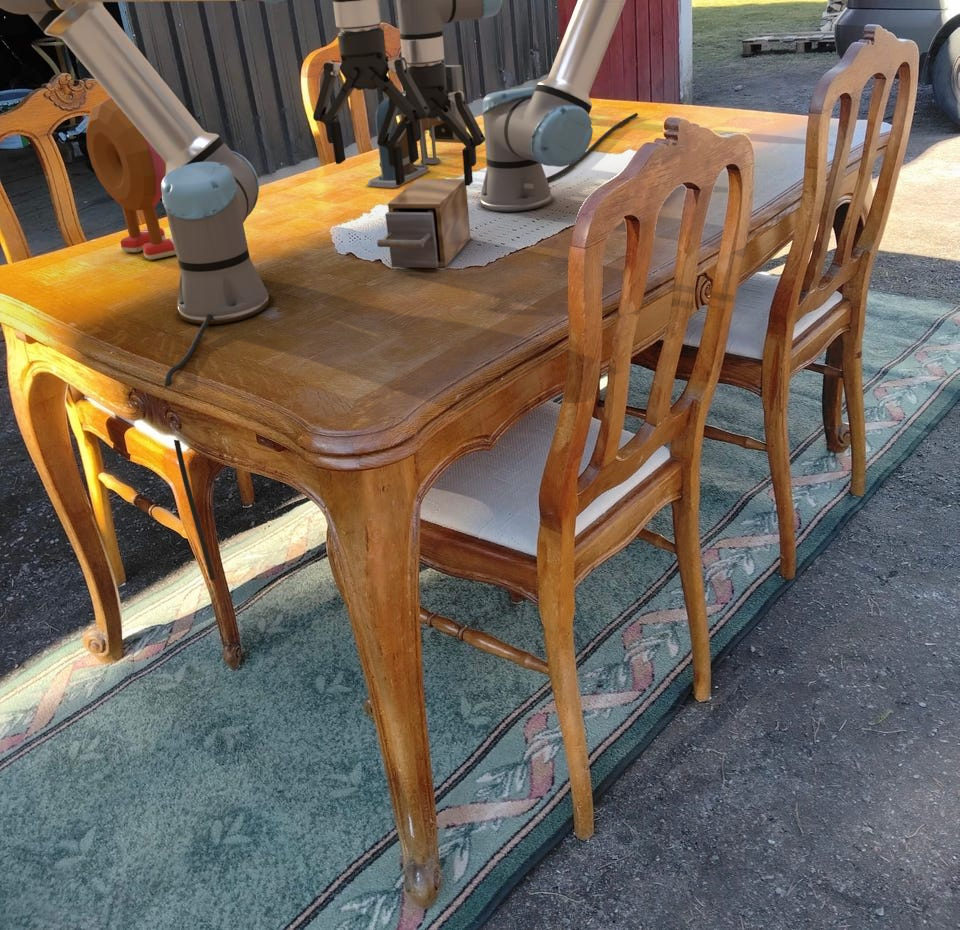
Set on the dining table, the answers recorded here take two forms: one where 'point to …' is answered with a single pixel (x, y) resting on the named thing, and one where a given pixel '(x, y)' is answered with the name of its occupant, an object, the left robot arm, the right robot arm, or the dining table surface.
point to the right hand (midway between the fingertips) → (434, 183)
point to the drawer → (412, 237)
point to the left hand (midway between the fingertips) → (377, 161)
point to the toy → (128, 176)
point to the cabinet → (440, 211)
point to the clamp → (436, 132)
